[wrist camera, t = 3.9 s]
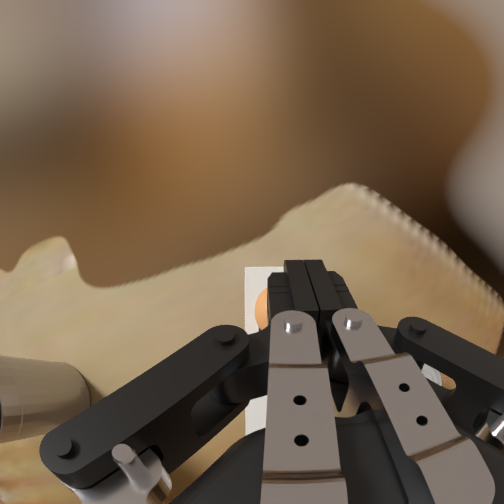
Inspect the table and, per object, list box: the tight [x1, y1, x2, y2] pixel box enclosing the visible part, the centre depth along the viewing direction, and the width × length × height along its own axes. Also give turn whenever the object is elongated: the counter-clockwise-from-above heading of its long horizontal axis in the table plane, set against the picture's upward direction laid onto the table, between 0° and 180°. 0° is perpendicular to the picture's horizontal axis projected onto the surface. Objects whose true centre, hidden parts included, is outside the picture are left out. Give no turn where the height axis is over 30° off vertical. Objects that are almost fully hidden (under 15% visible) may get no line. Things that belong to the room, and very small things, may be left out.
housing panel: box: [245, 267, 284, 435], centre depth 27 cm, size 5×20×14 cm, turn 0°
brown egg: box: [255, 288, 268, 330], centre depth 22 cm, size 4×4×5 cm
